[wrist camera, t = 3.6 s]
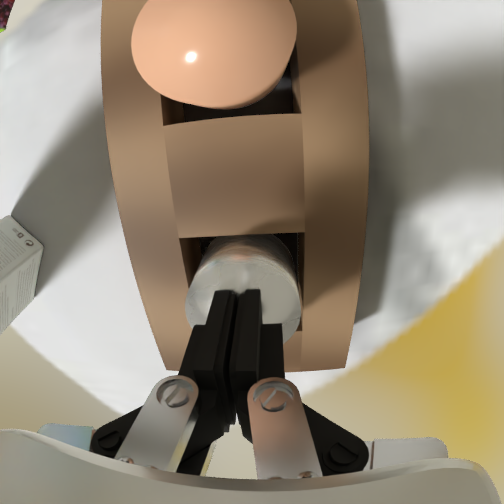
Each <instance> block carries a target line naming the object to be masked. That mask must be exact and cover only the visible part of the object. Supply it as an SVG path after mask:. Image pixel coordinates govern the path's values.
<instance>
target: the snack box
mask: <svg viewBox="0 0 504 504" xmlns="http://www.w3.org/2000/svg"><path fill="white" fill-rule="evenodd" d="M14 1H15V0H0V32H2V31H4V30H5V29H6V25H7V21H8V18H9V15H10V12H11V10H12V7H13V4H14Z"/></svg>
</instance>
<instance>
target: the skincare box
mask: <svg viewBox="0 0 504 504" xmlns="http://www.w3.org/2000/svg"><path fill="white" fill-rule="evenodd" d="M43 248H44V247H43V245H42V244H41V243H40V242H38V241H37V240H36V239H35V238H34V237H33V236H32V235H30V234H29V233H28V232H27V231H26V230H25V229H24V228H23V227H22V226H21V225H20V224H19V223H18V222H16V221H15V220H14V219H13V218H12V217H11V216H10V215H8V216H6V217H4V218H2V219H1V220H0V335H1V334H2V332H3V331H4V330H5V329H6V328H7V327H8V326H9V325H10V323H11V322H12V321H13V320H14V319H15V318H16V317H17V316H18V315H19V314H20V313H21V312H22V311H23V310H24V309H25V308H26V307H27V305H28V304H29V303H30V302H31V301H32V300H33V299H34V294H35V287H36V281H37V276H38V271H39V266H40V261H41V257H42V252H43Z"/></svg>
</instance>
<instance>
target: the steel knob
mask: <svg viewBox="0 0 504 504" xmlns="http://www.w3.org/2000/svg"><path fill="white" fill-rule="evenodd" d="M250 289H260V290H261V304H262V320H263V324H275V323H282V332H283V344H284V343H285V342H287V341H288V340H289V339H290V338H291V337H292V335H293V334H294V333H295V331H296V329H297V327H298V325H299V322H300V317H301V306H300V299H299V293H298V287H297V280H296V274H295V268H294V263H293V258H292V256H291V253H290V252H289V250H288V248H287V247H286V246H285V244H284V243H283V242H282V241H281V240H280V239H279V238H277V237H276V236H274V235H273V234H248V235H227V236H218V237H217V238H215V239H214V240H213V241H212V242H211V243H210V245H209V246H208V248H207V249H206V251H205V253H204V256H203V258H202V260H201V263H200V265H199V267H198V269H197V272H196V274H195V276H194V279H193V281H192V283H191V286H190V288H189V291H188V293H187V296H186V301H185V312H186V317H187V320H188V322H189V324H190V326H191V328H192V329H193V327H194V325H196V324H199V325H205V324H206V320H207V316H208V313H209V309H210V306H211V302H212V299H213V295H214V292H215V291H216V290H230V291H231V294H236V297H237V306H238V303H239V296H240V294H245V290H250Z"/></svg>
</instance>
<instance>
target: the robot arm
mask: <svg viewBox="0 0 504 504" xmlns="http://www.w3.org/2000/svg"><path fill="white" fill-rule="evenodd" d="M236 413H237V416H238V421H239V424H240V425H241V429H242V434H243V436H244V437H245V438H246V439H247V440H248V441H250V442H251V443H252V444H253V448H254V455H255V462H256V470H257V477H258V480H255V479H228V478H215V477H205V476H206V473H207V470H208V467H209V464H210V461H211V458H212V455H213V452H214V449H215V446H216V440H217V439H218V438H220V437H221V436H223V435H224V432H229V427H230V424H233V425H235V422H236ZM0 504H501V501H500V498H499V495H498V493H497V490H496V488H495V486H494V484H493V482H492V480H491V478H490V476H489V475H488V473H487V472H486V470H485V469H484V468H483V467H482V466H481V465H479V464H478V463H476V462H473V461H470V460H465V459H457V458H448V451H447V448H446V445H445V444H444V443H443V442H442V441H441V440H439V439H437V438H432V437H426V438H409V439H374V441H362V440H361V439H360V438H359V437H357V436H355V435H353V434H352V433H350V432H348V431H347V430H345V429H343V428H342V427H340V426H338V425H336V424H335V423H333V422H332V421H330V420H328V419H327V418H325V417H324V416H322V415H321V414H319V413H317V412H316V411H314V410H313V409H311V408H309V407H308V406H307V405H305V404H304V403H302V401H301V397H300V394H299V391H298V389H297V387H296V386H295V385H294V384H293V383H292V382H290V381H288V380H286V379H285V370H284V350H283V332H282V323H275V324H263V320H262V304H261V290H260V289H250V290H245V294H240V296H239V303H238V306H237V297H236V294H231V291H230V290H216V291H215V292H214V295H213V299H212V302H211V306H210V309H209V313H208V316H207V320H206V324H205V325H199V324H196V325H194V327H193V329H192V333H191V336H190V339H189V342H188V345H187V348H186V351H185V354H184V357H183V360H182V364H181V367H180V370H179V373H178V375H175V376H169V377H166V378H164V379H162V380H161V381H159V382H158V383H157V384H156V385H155V386H154V388H153V389H152V391H151V393H150V395H149V396H148V398H147V400H146V402H145V404H144V405H143V406H141V407H139V408H137V409H135V410H133V411H131V412H129V413H128V414H126V415H124V416H122V417H120V418H118V419H116V420H114V421H112V422H109V423H108V424H105V425H103V426H102V427H100V428H99V429H97V430H96V429H94V428H93V427H88V426H73V425H62V424H53V423H51V424H46V425H44V426H42V427H41V428H40V429H39V430H38V432H37V433H35V432H31V431H27V430H20V429H3V430H0Z"/></svg>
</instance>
